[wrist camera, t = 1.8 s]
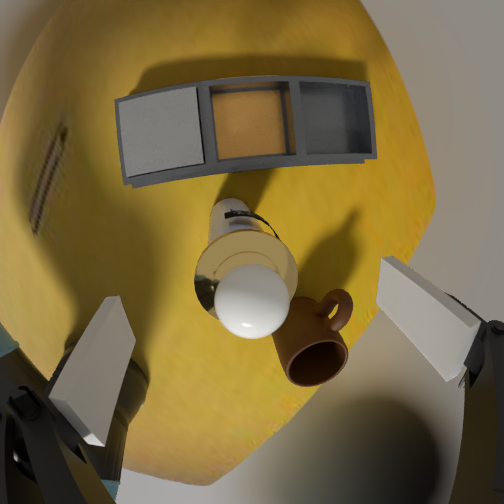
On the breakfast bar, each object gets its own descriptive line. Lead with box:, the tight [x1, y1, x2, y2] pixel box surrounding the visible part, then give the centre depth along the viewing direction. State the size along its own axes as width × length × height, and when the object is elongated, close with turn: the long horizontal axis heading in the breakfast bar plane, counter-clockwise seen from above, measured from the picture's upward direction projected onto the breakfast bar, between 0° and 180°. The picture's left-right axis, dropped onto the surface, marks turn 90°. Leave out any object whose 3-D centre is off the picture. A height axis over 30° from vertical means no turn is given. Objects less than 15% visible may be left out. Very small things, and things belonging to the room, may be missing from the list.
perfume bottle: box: [194, 198, 298, 339], centre depth 21 cm, size 6×6×20 cm
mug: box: [271, 289, 353, 387], centre depth 31 cm, size 12×8×9 cm, turn 158°
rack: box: [115, 75, 377, 188], centre depth 24 cm, size 26×10×5 cm, turn 96°
